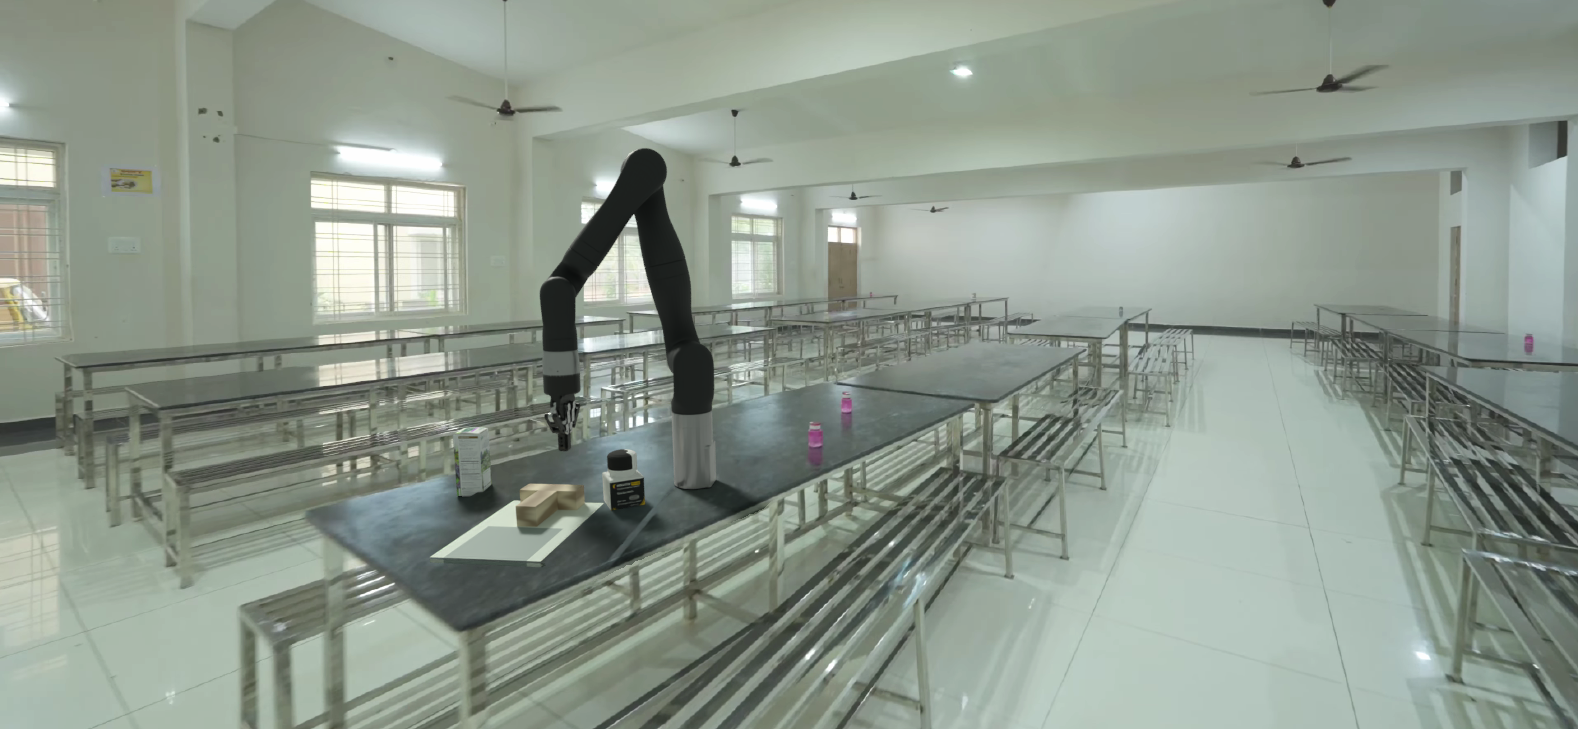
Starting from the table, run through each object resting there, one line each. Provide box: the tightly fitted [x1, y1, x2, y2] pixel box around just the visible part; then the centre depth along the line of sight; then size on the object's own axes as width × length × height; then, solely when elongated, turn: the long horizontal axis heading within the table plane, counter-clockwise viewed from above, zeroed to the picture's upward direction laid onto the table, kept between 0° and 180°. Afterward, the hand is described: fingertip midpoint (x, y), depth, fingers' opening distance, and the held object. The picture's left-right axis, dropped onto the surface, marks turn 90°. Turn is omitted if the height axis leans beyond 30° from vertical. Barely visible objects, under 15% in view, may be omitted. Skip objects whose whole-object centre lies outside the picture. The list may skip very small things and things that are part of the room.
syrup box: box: [452, 426, 493, 497], centre depth 149 cm, size 6×6×14 cm
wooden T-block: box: [516, 483, 586, 527], centre depth 133 cm, size 12×13×4 cm
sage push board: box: [429, 499, 605, 568], centre depth 127 cm, size 20×28×1 cm
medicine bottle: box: [601, 448, 646, 511], centre depth 139 cm, size 7×7×12 cm
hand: (564, 450), depth 144 cm, fingers closed
